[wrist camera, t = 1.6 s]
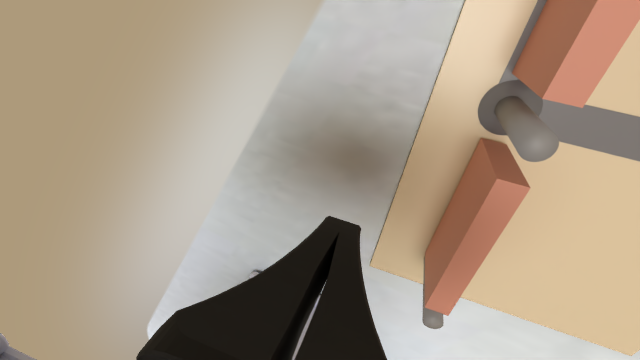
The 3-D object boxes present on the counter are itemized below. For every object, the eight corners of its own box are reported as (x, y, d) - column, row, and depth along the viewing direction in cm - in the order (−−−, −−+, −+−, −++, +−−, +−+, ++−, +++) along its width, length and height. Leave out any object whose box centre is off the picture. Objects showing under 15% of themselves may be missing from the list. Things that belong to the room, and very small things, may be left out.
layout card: (628, 351, 19) (631, 356, 19) (370, 262, 22) (369, 266, 21) (1089, 2, 9) (1113, 2, 9) (494, -82, 12) (496, -84, 11)
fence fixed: (514, 121, 15) (547, 167, 11) (488, 115, 15) (511, 157, 11) (636, -106, 10) (771, -176, 6) (597, -110, 10) (703, -181, 6)
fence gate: (438, 269, 20) (440, 331, 16) (419, 263, 20) (418, 323, 16) (506, 144, 15) (533, 192, 11) (481, 137, 15) (498, 182, 11)
